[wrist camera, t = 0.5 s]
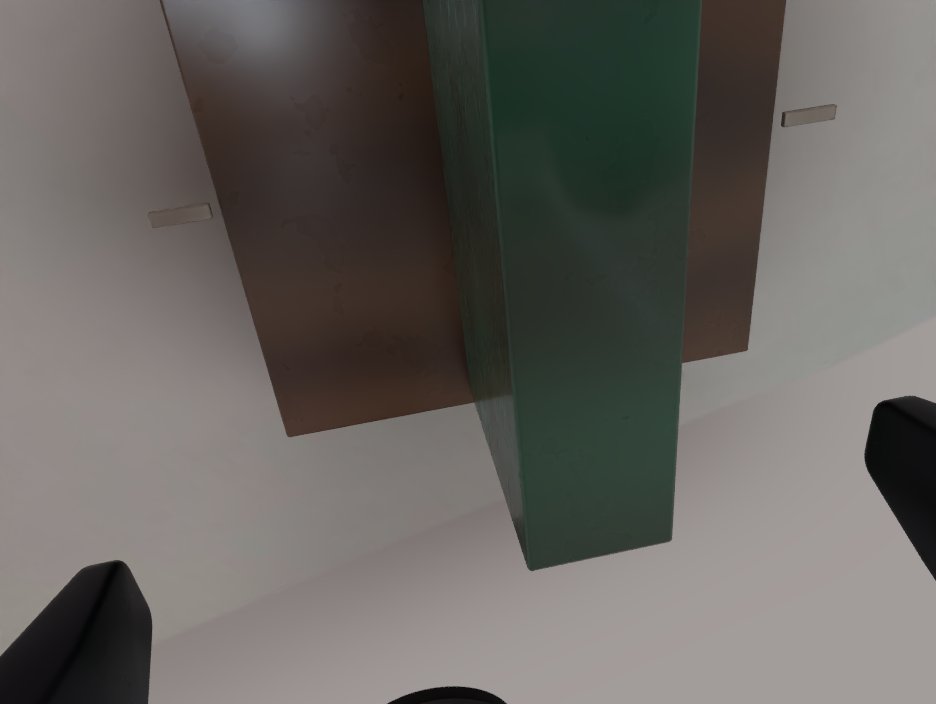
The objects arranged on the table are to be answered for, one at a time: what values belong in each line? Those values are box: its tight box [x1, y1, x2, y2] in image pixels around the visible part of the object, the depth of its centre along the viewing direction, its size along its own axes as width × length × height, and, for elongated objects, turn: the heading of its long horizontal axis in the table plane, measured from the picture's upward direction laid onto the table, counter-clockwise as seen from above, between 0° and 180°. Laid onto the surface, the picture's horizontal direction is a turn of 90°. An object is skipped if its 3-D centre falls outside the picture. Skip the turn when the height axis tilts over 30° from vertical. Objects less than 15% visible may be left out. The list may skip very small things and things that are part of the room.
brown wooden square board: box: [148, 0, 837, 437], centre depth 20 cm, size 17×17×3 cm
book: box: [422, 0, 702, 571], centre depth 15 cm, size 13×3×7 cm, turn 6°
